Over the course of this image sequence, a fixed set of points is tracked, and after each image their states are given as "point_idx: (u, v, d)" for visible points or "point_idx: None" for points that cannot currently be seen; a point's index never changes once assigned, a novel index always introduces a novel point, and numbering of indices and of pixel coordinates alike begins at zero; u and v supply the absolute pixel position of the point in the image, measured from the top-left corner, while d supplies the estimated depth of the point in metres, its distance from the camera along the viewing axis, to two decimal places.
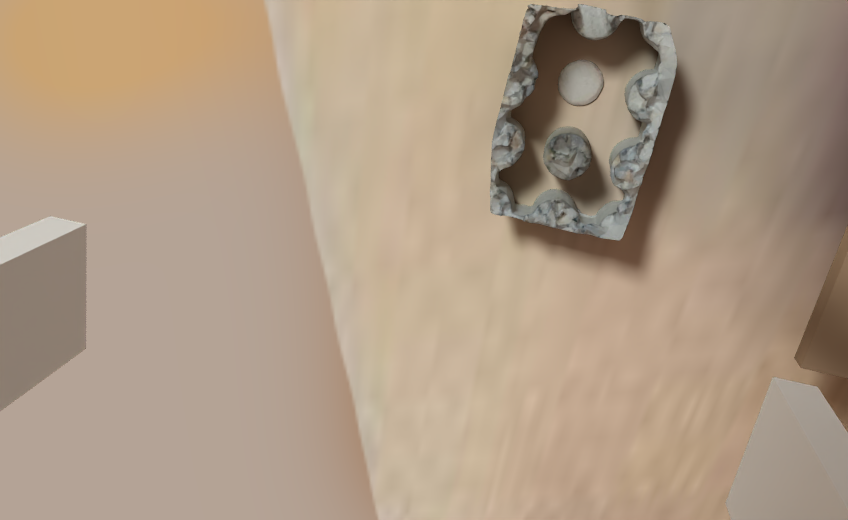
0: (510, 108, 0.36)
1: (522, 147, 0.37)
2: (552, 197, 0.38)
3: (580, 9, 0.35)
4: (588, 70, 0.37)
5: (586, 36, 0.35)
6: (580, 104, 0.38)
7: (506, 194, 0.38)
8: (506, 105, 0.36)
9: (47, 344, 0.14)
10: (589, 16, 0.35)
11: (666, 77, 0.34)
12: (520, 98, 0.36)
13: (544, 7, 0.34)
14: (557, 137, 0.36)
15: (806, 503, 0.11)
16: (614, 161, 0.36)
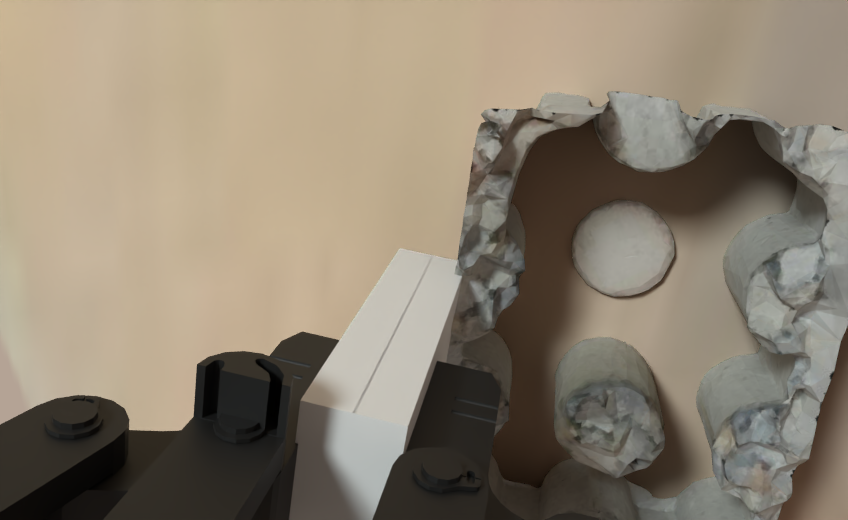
0: (467, 339, 0.15)
1: (504, 415, 0.16)
2: (581, 501, 0.17)
3: (614, 104, 0.14)
4: (640, 225, 0.17)
5: (633, 166, 0.14)
6: (626, 294, 0.17)
7: None
8: (457, 333, 0.15)
9: None
10: (637, 119, 0.14)
11: None
12: (487, 320, 0.15)
13: (525, 111, 0.14)
14: (582, 399, 0.15)
15: None
16: (720, 438, 0.16)
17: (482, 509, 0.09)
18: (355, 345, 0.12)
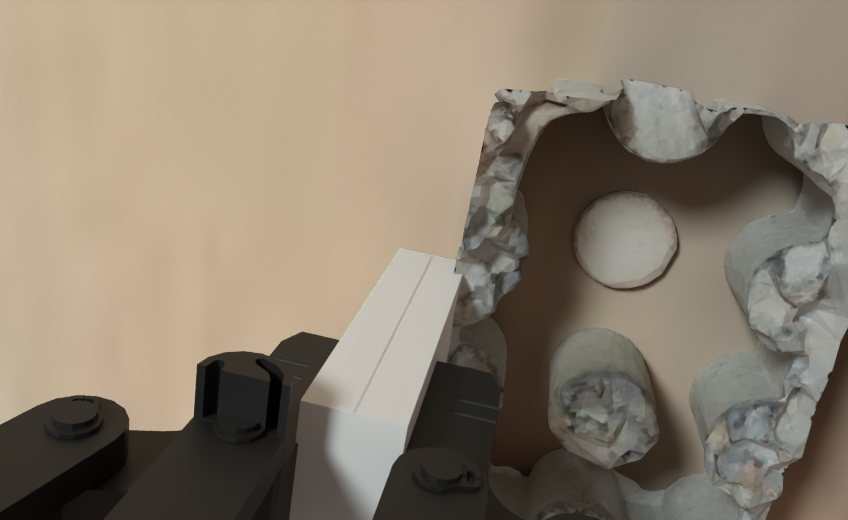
0: (466, 322, 0.15)
1: (499, 401, 0.16)
2: (570, 491, 0.17)
3: (627, 92, 0.14)
4: (643, 217, 0.17)
5: (643, 156, 0.14)
6: (625, 286, 0.17)
7: None
8: (456, 316, 0.15)
9: None
10: (650, 108, 0.14)
11: None
12: (488, 304, 0.15)
13: (539, 93, 0.13)
14: (579, 388, 0.15)
15: None
16: (713, 434, 0.16)
17: (482, 509, 0.09)
18: (355, 345, 0.12)
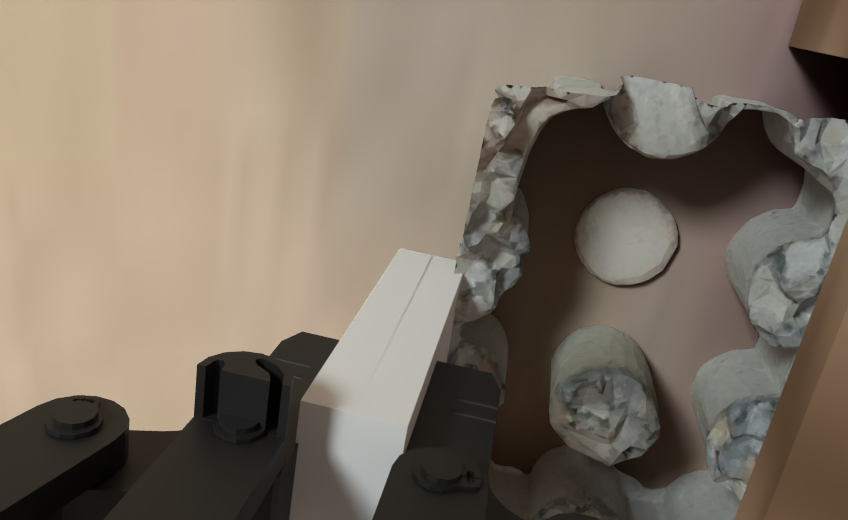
0: (467, 319, 0.15)
1: (500, 398, 0.16)
2: (571, 488, 0.17)
3: (628, 88, 0.14)
4: (644, 214, 0.17)
5: (644, 152, 0.14)
6: (626, 283, 0.17)
7: None
8: (458, 313, 0.15)
9: None
10: (650, 104, 0.14)
11: None
12: (489, 300, 0.15)
13: (539, 89, 0.13)
14: (580, 384, 0.15)
15: None
16: (714, 430, 0.16)
17: (482, 509, 0.09)
18: (355, 345, 0.12)
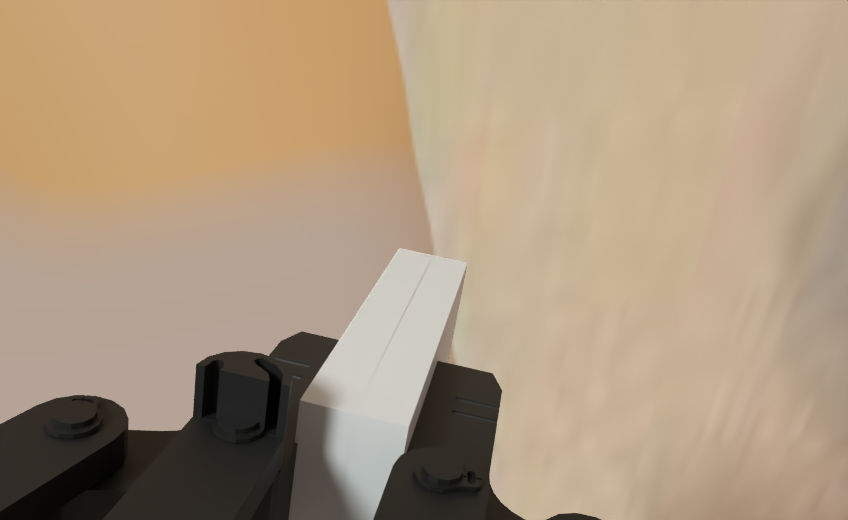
0: None
1: None
2: None
3: None
4: None
5: None
6: None
7: None
8: None
9: None
10: None
11: None
12: None
13: None
14: None
15: None
16: None
17: (482, 509, 0.09)
18: (354, 345, 0.12)
